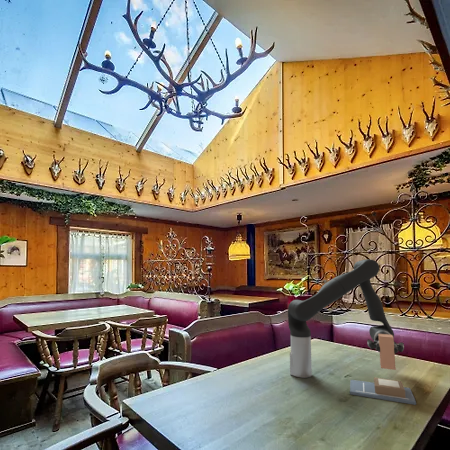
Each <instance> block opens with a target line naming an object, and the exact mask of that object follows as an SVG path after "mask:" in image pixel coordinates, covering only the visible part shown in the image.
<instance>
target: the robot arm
mask: <svg viewBox="0 0 450 450" xmlns="http://www.w3.org/2000/svg"><path fill="white" fill-rule="evenodd" d="M379 272H380V264H379V263H378V262H377V260H374V259H371V258H369V259H367V258H366V259H362V260H358V261H356V262H355V263H354V265H353V269H352V270H350V271H348V272H345V273H343V274H339V275H338V276H335V277H333V278H331V279H330V280H328V281H327V282H325V283H324V284H323V285H322V286H321V287H320V288H319V290H318V292H317V293H316V294H314V295H313V296H311V297H309V298H307V299H305V300H300V299H294V300H292V301H290V303H289V304H288V308H287V323H288V329H289V331H290V332H289V333H290V352H289V369H290V370H289V372H290V373H289V374H290V376H294V377H297V378H303V379H304V378H305V379H306V378H311V377H312V376H313V372H312V371H313V367H312V365H313V363H312V362H313V360H312V337H311V328H309V326H308V324H307V321H309V320H311V319H312V318H313V317H315V316H316V315H317V314H318V313H320V311H322V310H323V309H325V308H326V307H328V306H330V305H332V303H334V302H336V301H337V300H339V299H341V298H342V297H344V296H345V295H347V294H348V293H350V292H351V291H353V290H354V289H355V288H356V287H358V286H359V287H360V289H361V292H362V295H363V297H364V300H365V304H366V308H367V312H368V316H369V319H370V321H372V322H380V323H382V324H381V325H373V326H370V327H369V331H368V332H369V336H370V338H371V339H372V340H371V339H367V340H366V341H367V347H369V349H371V350H374V349H375V350H376V351H377V352H378V353H380V346H379V336H378V334H389V335H393V339H395V332H394V330H393V328H392V327H391V325H390V322H388V319H387V316H386V314H385V310H384V306H383V303H382V301H381V299H380V297H379V295H378V294H377V293H376V291H375V289H374V287H373V285H372V283H371V279H372V278H375V277H376V276H377V275H378V274H379ZM404 345H405V344H404V342H402V341H401V342H398V343H397V342H395V341H394V353H395V355H396V354H397V353H402V352H403V351H404V349H405V346H404Z"/></svg>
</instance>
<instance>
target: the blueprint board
mask: <svg viewBox="0 0 450 450" xmlns="http://www.w3.org/2000/svg"><path fill="white" fill-rule="evenodd" d="M349 385H350V386H349V395H352V396H353V395H354V396H357V397H358V396H359V397H364V398H365V397H366V398H372V399H378V400H384V401H390V402H397V403H402V404H409V405H414V406H415V405H417V402H416V399H415V396H414V394H413V391H412V389H411V388H410V387H405V386H404V384H403V381H402V380H396V379H388V378H383V377H382V378H381V377H373V382H371V381H365V380H357V379H356V380H355V379H350V384H349Z"/></svg>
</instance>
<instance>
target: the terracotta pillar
mask: <svg viewBox="0 0 450 450" xmlns="http://www.w3.org/2000/svg"><path fill="white" fill-rule="evenodd" d="M378 336H379V346H380V352H379V363H380V364H379V365H380V368H381V369H385V370H391V371H392V370H393V371H397V370H396V369H397V368H396V356H395V355H396V354H395V353H394V342H395V340H394V339H395V338H393V335H389V334H378Z"/></svg>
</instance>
